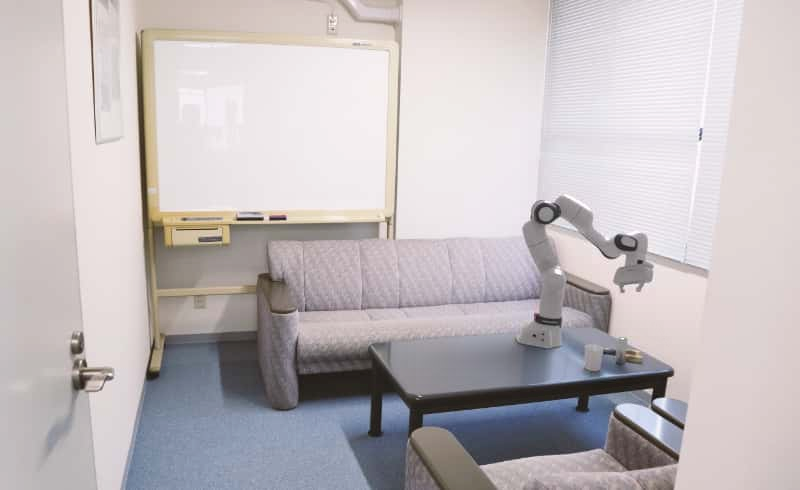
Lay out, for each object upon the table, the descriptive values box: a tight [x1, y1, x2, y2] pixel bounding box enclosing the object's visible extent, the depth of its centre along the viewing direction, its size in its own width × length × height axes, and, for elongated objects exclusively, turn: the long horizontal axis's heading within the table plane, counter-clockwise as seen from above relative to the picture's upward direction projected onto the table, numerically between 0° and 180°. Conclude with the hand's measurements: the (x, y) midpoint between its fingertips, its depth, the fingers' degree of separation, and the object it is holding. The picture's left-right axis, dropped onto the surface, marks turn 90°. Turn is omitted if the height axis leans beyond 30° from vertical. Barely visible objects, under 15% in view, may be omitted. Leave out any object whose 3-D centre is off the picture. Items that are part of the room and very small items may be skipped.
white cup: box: [583, 343, 604, 372], centre depth 270 cm, size 8×8×10 cm
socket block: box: [625, 348, 643, 364], centre depth 287 cm, size 10×10×2 cm
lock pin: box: [603, 347, 617, 356], centre depth 292 cm, size 8×2×2 cm, turn 75°
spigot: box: [615, 336, 628, 366], centre depth 278 cm, size 4×4×12 cm
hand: (629, 292), depth 284 cm, fingers open, 8 cm apart
